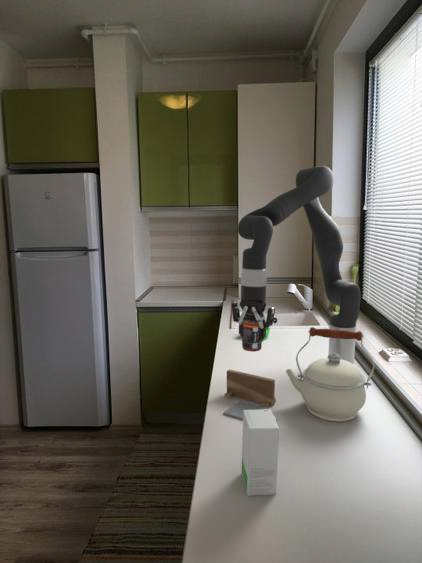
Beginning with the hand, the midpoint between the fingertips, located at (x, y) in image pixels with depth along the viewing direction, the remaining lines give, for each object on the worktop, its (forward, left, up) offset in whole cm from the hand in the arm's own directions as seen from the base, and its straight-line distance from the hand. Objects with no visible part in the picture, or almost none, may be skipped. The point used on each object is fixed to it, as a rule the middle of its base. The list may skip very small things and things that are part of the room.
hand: (252, 337), depth 129 cm
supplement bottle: (0, 0, -4) cm, 4 cm away
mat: (+7, +2, -20) cm, 22 cm away
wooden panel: (-1, -1, -20) cm, 20 cm away
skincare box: (+35, +20, -21) cm, 46 cm away
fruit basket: (-60, -28, -21) cm, 69 cm away
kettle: (-7, +22, -21) cm, 31 cm away
